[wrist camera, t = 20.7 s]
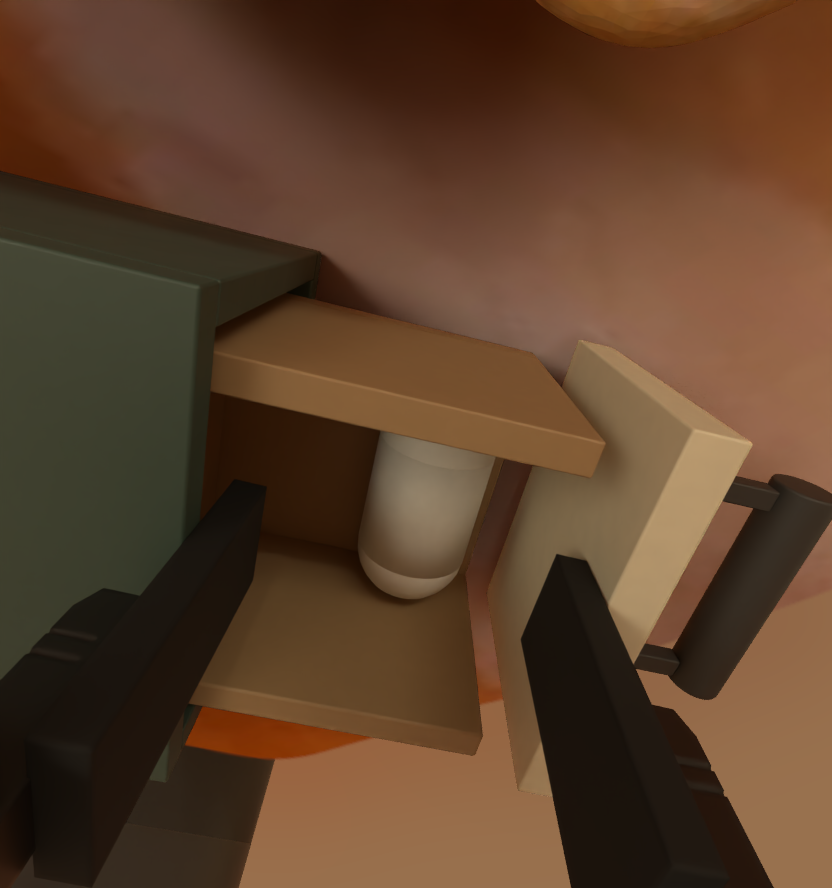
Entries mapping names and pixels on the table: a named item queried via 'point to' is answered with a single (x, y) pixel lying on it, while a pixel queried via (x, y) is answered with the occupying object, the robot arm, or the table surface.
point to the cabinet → (110, 393)
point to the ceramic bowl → (659, 18)
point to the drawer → (527, 544)
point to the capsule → (419, 514)
